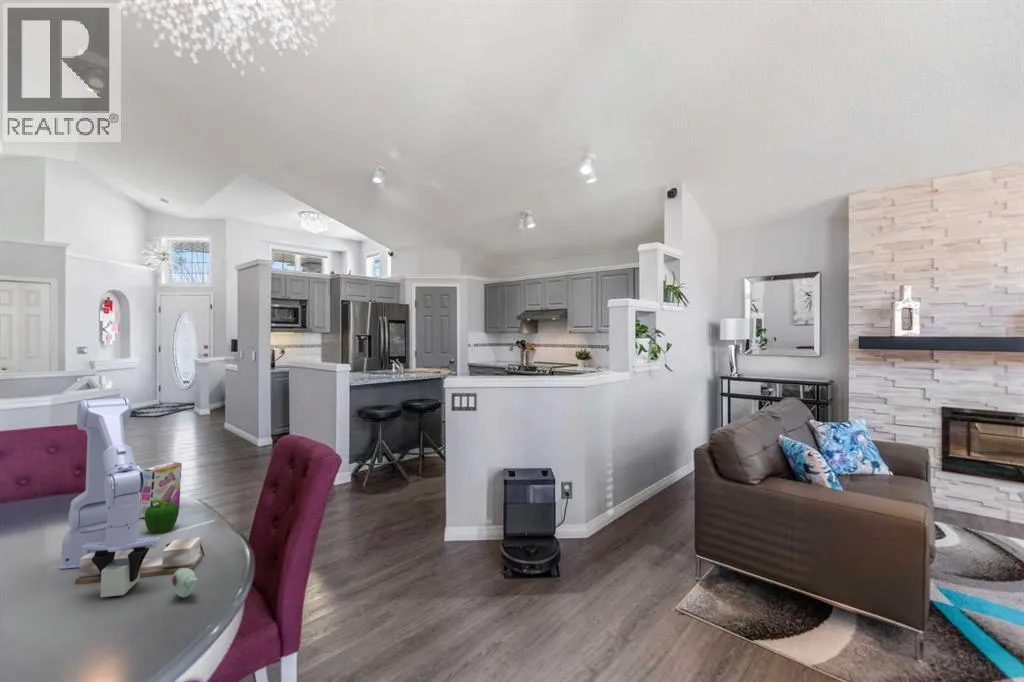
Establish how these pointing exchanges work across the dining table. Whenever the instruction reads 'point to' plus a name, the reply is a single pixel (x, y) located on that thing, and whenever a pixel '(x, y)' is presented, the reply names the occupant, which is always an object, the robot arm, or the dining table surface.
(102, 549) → the robot arm
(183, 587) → the robot head
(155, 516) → the bell pepper
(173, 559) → the board
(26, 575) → the dining table surface
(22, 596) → the dining table surface
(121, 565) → the block
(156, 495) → the candy bar box
